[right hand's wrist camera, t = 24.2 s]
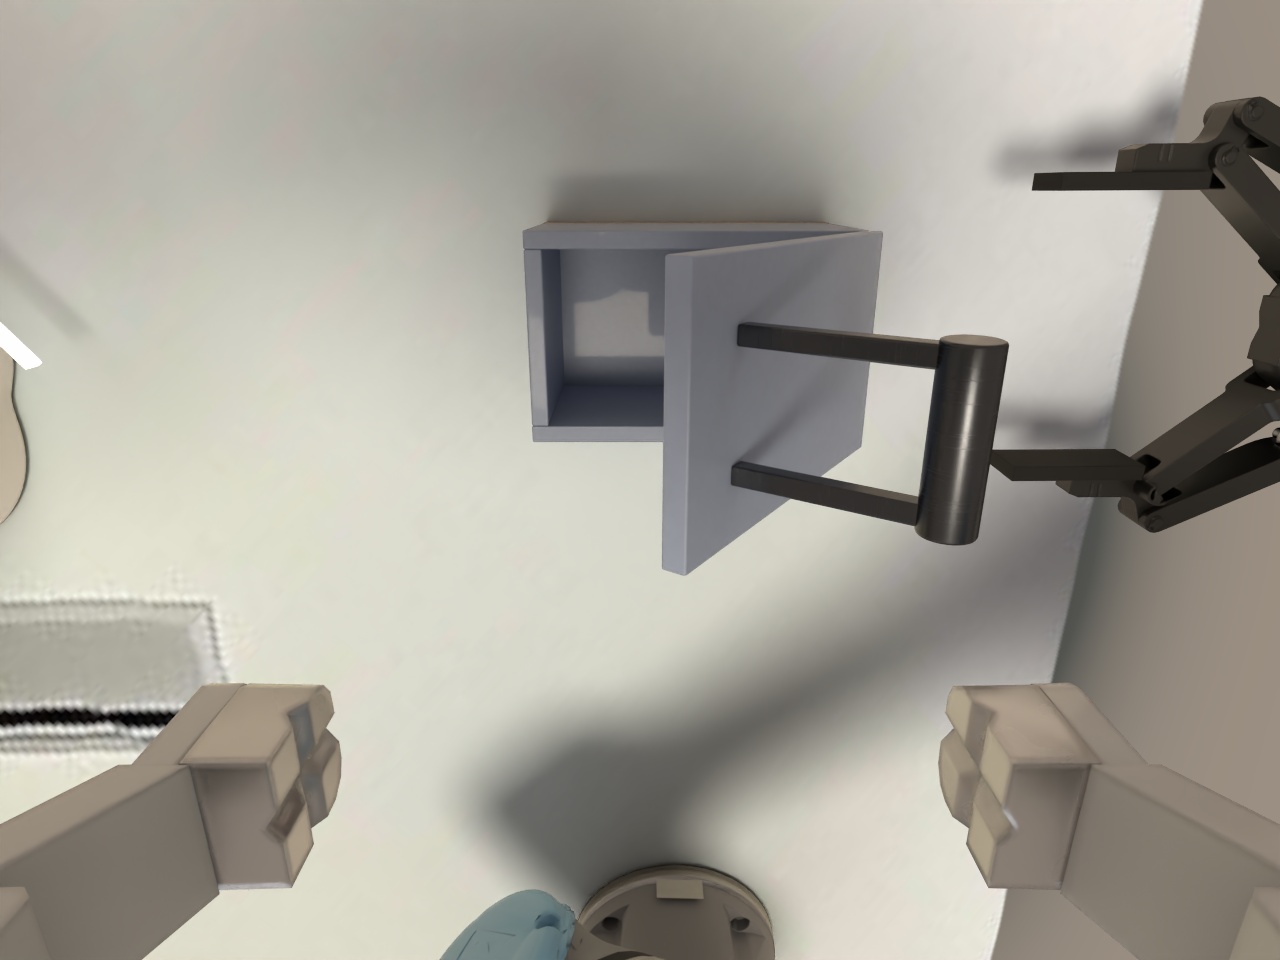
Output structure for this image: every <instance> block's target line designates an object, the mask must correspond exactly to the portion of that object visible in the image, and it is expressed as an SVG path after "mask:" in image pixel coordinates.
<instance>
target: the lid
mask: <svg viewBox="0 0 1280 960" xmlns="http://www.w3.org/2000/svg"><path fill="white" fill-rule="evenodd" d="M882 238H883V232H881V231H860V232H852V233H843V234H835V235H826V236H818V237H810V238H801V239H793V240H784V241H776V242H767V243H759V244H751V245H742V246H734V247H725V248H717V249H708V250H700V251H692V252H683V253H675V254H668V255H666V257H665V335H664V427H663V519H662V569H664V570H667V571H670V572H673V573H677V574H680V575H683V576H685V575H687V574H689V573H690V572H691V571H693V570H694V569H695V568H697V567H698V566H699V565H701V564H702V563H704V562H705V561H706V560H708V559H709V558H710V557H712V556H713V555H714V554H716V553H717V552H719V551H720V550H721V549H723V548H724V547H725V546H727V545H728V544H729V543H731V542H732V541H733V540H735V539H736V538H738V537H739V536H740V535H742V534H743V533H744V532H746V531H747V530H748V529H750V528H751V527H753V526H754V525H755V524H757V523H758V522H759V521H761V520H762V519H763V518H765V517H766V516H768V515H769V514H770V513H772V512H773V511H774V510H776V509H777V508H778V507H780V506H781V505H782V504H784V503H785V502H787V501H788V500H789V499H795V500H800V501H804V502H809V503H813V504H818V505H822V506H827V507H831V508H835V509H840V510H844V511H849V512H853V513H858V514H862V515H867V516H871V517H876V518H880V519H885V520H889V521H894V522H898V523H903V524H907V525H912V526H915V531H916V533H917V534H918V535H919V536H921V537H922V538H924V539H926V540H929V541H932V542H935V543H939V544H945V545H966V544H970V543H973V542H974V541H976V539H977V538H978V534H979V528H980V521H981V515H982V509H983V503H984V497H985V491H986V484H987V478H988V472H989V466H990V460H991V454H992V448H993V441H994V435H995V429H996V423H997V417H998V411H999V404H1000V398H1001V392H1002V386H1003V380H1004V374H1005V367H1006V361H1007V355H1008V349H1009V344H1008V342H1007V341H1005V340H1002V339H999V338H995V337H989V336H980V335H949V336H945V337H942V338H940V340H931V339H920V338H910V337H900V336H890V335H880V334H873V326H874V316H875V306H876V297H877V287H878V277H879V267H880V257H881V247H882ZM870 362H875V363H884V364H892V365H901V366H909V367H918V368H926V369H935V375H934V382H933V390H932V398H931V405H930V413H929V421H928V428H927V436H926V443H925V451H924V459H923V466H922V474H921V482H920V489H919V497H917V496H912V495H907V494H902V493H897V492H893V491H888V490H883V489H878V488H873V487H868V486H863V485H858V484H853V483H848V482H843V481H838V480H833V479H828V478H823V477H821V476H822V475H823V474H825V473H826V472H827V471H829V470H830V469H831V468H833V467H834V466H836V465H837V464H838V463H840V462H841V461H842V460H844V459H845V458H846V457H848V456H849V455H850V454H852V453H853V452H855V451H856V450H857V449H859V448H860V447H861V444H862V434H863V424H864V414H865V405H866V395H867V385H868V375H869V365H870Z"/></svg>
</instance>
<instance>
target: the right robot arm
mask: <svg viewBox="0 0 1280 960" xmlns="http://www.w3.org/2000/svg"><path fill="white" fill-rule="evenodd" d="M13 358H14V359H15V360H16V361H17V362H18V363H19V364H20V365H21V366H22V367H23V368H24V369H29V368H32V367H36V366H39V365H40V364H41V363H42V361H40V360H39V359H38V358H37V357H36V356H35V355H34V354H33V353H32V352H31V351H30V350H29V349H28V348H27V347H26V346H25V345H24V344H23V343H21V342H20V341H19V340H18V339H17V338H16V337H15V336H14V335H13V334H12V333H11V332H10V331H9V330H8V329H7V328H6V327H5V326H4V325H2V324H1V323H0V524H1V523H2V522H3V521H4V520H5V519H6V518H7V517H8V515H9V514H10V513H11V511H12V510H13V509H14V507H15V505H16V503H17V502H18V499H19V497H20V495H21V492H22V489H23V485H24V481H25V474H26V453H25V445H24V440H23V436H22V432H21V429H20V426H19V423H18V420H17V417H16V414H15V411H14V407H13V403H12V398H11V392H12V383H13V370H14V364H13ZM945 713H946V715H947V716H948V718H949V720H950V722H951V723H952V725H953V727H954V729H953V730H952V731H951V732H950V733H949V734H948V735H947V736H946V737H945V738H944V739H943V740H942V741H941V745H940V753H939V761H938V766H939V776H940V786H941V789H942V792H943V796H944V799H945V802H946V804H947V806H948V808H949V810H950V812H951V815H952V817H954V818H955V819H957V820H958V821H959V822H961V823H962V824H964V825H965V826H966V827H968V828H969V831H968V836H967V842H966V845H967V847H968V849H969V851H970V853H971V855H972V857H973V858H974V860H975V862H976V864H977V866H978V868H979V870H980V872H981V874H982V876H983V878H984V880H985V882H986V884H987V886H988V888H1007V889H1042V890H1061V892H1060V894H1062V895H1063V896H1064V897H1065V898H1066V899H1067V900H1069V901H1070V902H1071V903H1072V904H1073V905H1075V906H1076V907H1077V908H1078V909H1079V910H1080V911H1082V912H1083V913H1084V914H1085V915H1086V916H1088V917H1089V918H1090V919H1091V920H1092V921H1093V922H1095V923H1096V924H1097V925H1098V926H1099V927H1101V928H1102V929H1103V930H1104V931H1105V932H1107V933H1108V934H1109V935H1110V936H1111V937H1112V938H1114V939H1115V940H1116V941H1117V942H1118V943H1120V944H1121V945H1122V946H1123V947H1124V948H1125V949H1127V950H1128V951H1129V952H1130V953H1131V954H1133V955H1134V956H1135V957H1136V958H1137V959H1139V960H1280V824H1278V823H1276V822H1274V821H1272V820H1270V819H1268V818H1266V817H1264V816H1262V815H1260V814H1258V813H1256V812H1254V811H1252V810H1250V809H1248V808H1246V807H1244V806H1242V805H1240V804H1238V803H1236V802H1234V801H1232V800H1230V799H1228V798H1226V797H1224V796H1222V795H1220V794H1218V793H1216V792H1214V791H1212V790H1210V789H1208V788H1206V787H1204V786H1202V785H1200V784H1198V783H1196V782H1194V781H1192V780H1190V779H1188V778H1186V777H1184V776H1182V775H1180V774H1178V773H1176V772H1174V771H1172V770H1171V769H1169V768H1167V767H1165V766H1163V765H1148V764H1147V762H1146V761H1145V760H1144V759H1143V758H1142V757H1141V756H1140V755H1139V754H1138V752H1137V751H1136V750H1135V749H1134V748H1133V747H1132V746H1131V745H1130V743H1129V742H1128V741H1127V740H1126V739H1125V738H1124V737H1123V736H1122V735H1121V733H1120V732H1119V731H1118V730H1117V729H1116V728H1115V727H1114V726H1113V725H1112V723H1111V722H1110V721H1109V720H1108V719H1107V718H1106V717H1105V716H1104V714H1103V713H1102V712H1101V711H1100V710H1099V709H1098V708H1097V707H1096V705H1095V704H1094V703H1093V702H1092V701H1091V700H1090V699H1089V698H1088V697H1087V695H1086V694H1085V693H1084V692H1083V691H1082V690H1081V689H1080V688H1079V687H1077V686H1075V685H1073V684H1071V683H1049V684H1031V685H993V686H953V688H952V690H951V692H950V694H949V696H948V701H947V707H946V712H945ZM333 715H334V708H333V703H332V698H331V693H330V691H329V690H328V689H327V688H326V687H325V686H324V685H296V684H244V683H212V684H209V685H205V686H202V687H201V688H200V689H199V690H198V691H197V692H196V693H195V694H194V695H193V697H192V698H191V699H190V700H189V701H188V702H187V703H186V704H185V705H184V707H183V708H182V709H181V710H180V711H179V712H178V713H177V714H176V716H175V717H174V718H173V719H172V720H171V721H170V722H169V723H168V724H167V726H166V727H165V728H164V729H163V730H162V731H161V732H160V733H159V735H158V736H157V737H156V738H155V739H154V740H153V741H152V742H151V743H150V745H149V746H148V747H147V748H146V749H145V750H144V751H143V752H142V753H141V755H140V756H139V757H138V758H137V759H136V760H135V761H134V762H133V764H132V765H117V766H115V767H113V768H111V769H109V770H107V771H105V772H103V773H102V774H100V775H98V776H96V777H94V778H92V779H90V780H88V781H86V782H84V783H82V784H80V785H78V786H76V787H74V788H72V789H70V790H68V791H66V792H64V793H62V794H60V795H58V796H56V797H54V798H52V799H50V800H48V801H46V802H44V803H42V804H40V805H38V806H36V807H34V808H32V809H30V810H28V811H26V812H24V813H22V814H20V815H18V816H16V817H14V818H12V819H10V820H8V821H6V822H4V823H2V824H0V960H142V959H143V958H144V957H145V956H146V955H148V954H149V953H150V952H151V951H152V950H154V949H155V948H156V947H157V946H158V945H160V944H161V943H162V942H163V941H164V940H165V939H167V938H168V937H169V936H170V935H171V934H173V933H174V932H175V931H176V930H177V929H179V928H180V927H181V926H182V925H183V924H184V923H186V922H187V921H188V920H189V919H190V918H192V917H193V916H194V915H195V914H196V913H198V912H199V911H200V910H201V909H202V908H203V907H205V906H206V905H207V904H208V903H209V902H211V901H212V900H213V899H214V898H215V897H216V896H218V895H219V890H237V889H272V888H292V886H293V884H294V882H295V880H296V878H297V876H298V874H299V872H300V870H301V868H302V866H303V864H304V862H305V860H306V859H307V857H308V855H309V853H310V851H311V849H312V847H313V845H314V842H313V837H312V831H311V828H312V827H314V826H315V825H316V824H318V823H319V822H321V821H322V820H323V819H325V818H326V817H328V815H329V812H330V810H331V808H332V806H333V804H334V802H335V800H336V796H337V792H338V787H339V783H340V779H341V751H340V744H339V741H338V740H337V739H336V738H335V737H334V736H333V735H332V734H331V733H330V732H329V731H328V730H327V729H326V727H327V725H328V723H329V722H330V720H331V718H332V716H333Z"/></svg>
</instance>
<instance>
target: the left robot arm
mask: <svg viewBox="0 0 1280 960" xmlns="http://www.w3.org/2000/svg"><path fill="white" fill-rule="evenodd" d="M1203 122H1204V128H1203V130H1202V132H1201V133H1200V135H1199V136H1198V137H1197V138H1196V139H1195V140H1194V141H1192V142H1191V143H1172V144H1171V143H1167V144H1140V145H1130V146H1128V147H1125V148H1123V149H1120V150H1119V153H1118V158H1117V163H1116V168H1115V172H1057V173H1034V180H1033V186H1032V190H1038V191H1073V190H1201V192H1202V193H1203V194H1204V195H1205V196H1206V197H1207V198H1208V199H1209V201H1210V202H1211V203H1212V204H1213V205H1214V206H1215V207H1216V208H1217V210H1218V211H1219V212H1220V213H1221V214H1222V215H1223V216H1224V217H1225V219H1226V220H1227V221H1228V222H1229V223H1230V224H1231V225H1232V226H1233V228H1234V229H1235V230H1236V231H1237V232H1238V233H1239V234H1240V235H1241V236H1242V238H1243V239H1244V240H1245V241H1246V242H1247V243H1248V244H1249V245H1250V247H1251V248H1252V249H1253V250H1254V251H1255V252H1256V253H1257V254H1258V256H1259V257H1260V259H1259V260H1258V263H1259V264H1260V265H1261V266H1262V268H1263V269H1264V270H1265V271H1266V272H1267V273H1268V274H1269V275H1270V277H1271V278H1272V279H1273V280H1274V281H1275V282H1276V283H1277V285H1276V287H1275V288H1274V289H1273V290H1272V292H1271V293H1270V295H1264V296H1263V299H1262V303H1261V307H1260V311H1259V329H1258V331H1257V333H1256V334H1255V336H1254V338H1253V340H1252V342H1251V345H1250V349H1249V352H1248V356H1247V358H1249V359H1252V360H1253V366H1252V367H1251V368H1249V369H1248V370H1246V371H1245V372H1243V373H1242V374H1240V375H1239V376H1237V377H1236V378H1235V379H1233V380H1232V381H1230V382H1229V383H1228V384H1227V385H1226V391H1225V392H1224V393H1223V394H1221V395H1220V396H1219V397H1217V398H1216V399H1214V400H1213V401H1211V402H1210V403H1208V404H1207V405H1205V406H1204V407H1203V408H1201V409H1200V410H1198V411H1197V412H1195V413H1194V414H1192V415H1191V416H1189V417H1188V418H1186V419H1185V420H1184V421H1182V422H1181V423H1179V424H1178V425H1176V426H1175V427H1173V428H1172V429H1171V430H1169V431H1168V432H1166V433H1165V434H1163V435H1162V436H1160V437H1159V438H1157V439H1156V440H1154V441H1153V442H1152V443H1150V444H1149V445H1147V446H1146V447H1144V448H1143V449H1141V450H1140V451H1138V452H1137V453H1135V454H1134V455H1133V456H1131V457H1128V456H1126V455H1125V454H1123V453H1121V452H1119V451H1117V450H1115V449H1052V450H992V454H991V460H990V464H991V465H992V466H993V467H995V468H996V469H997V470H999V471H1000V472H1001V473H1002V474H1004V475H1005V476H1006V477H1007V478H1009V479H1010V480H1011V481H1056V485H1058V486H1059V487H1061V488H1062V489H1063V490H1065V491H1066V492H1068V493H1069V494H1072V495H1074V496H1077V497H1121V500H1120V501H1119V503H1118V510H1119V511H1120V512H1121V513H1122V514H1124V515H1125V516H1126V517H1128V518H1129V519H1131V520H1132V521H1134V522H1135V523H1137V524H1138V525H1140V526H1141V527H1143V528H1144V529H1146V530H1148V531H1149V532H1153V533H1155V532H1159V531H1162V530H1164V529H1167V528H1169V527H1171V526H1174V525H1176V524H1179V523H1181V522H1183V521H1186V520H1188V519H1191V518H1193V517H1196V516H1198V515H1200V514H1203V513H1205V512H1207V511H1210V510H1212V509H1215V508H1217V507H1220V506H1222V505H1224V504H1227V503H1229V502H1231V501H1234V500H1236V499H1239V498H1241V497H1244V496H1246V495H1248V494H1251V493H1253V492H1256V491H1258V490H1260V489H1263V488H1265V487H1268V486H1270V485H1272V484H1275V483H1277V482H1280V428H1276V429H1275V430H1274V431H1273V433H1272V435H1273V437H1269V438H1263V439H1260V440H1256V441H1253V442H1250V443H1248V444H1245V445H1243V446H1240V447H1238V448H1236V449H1233V450H1231V451H1229V452H1227V451H1228V450H1229V449H1231V448H1232V447H1234V446H1236V445H1237V444H1239V443H1240V442H1241V441H1243V440H1245V439H1246V438H1248V437H1249V436H1251V435H1252V434H1253V433H1255V432H1257V431H1258V430H1260V429H1261V428H1262V427H1264V426H1265V425H1267V424H1269V423H1270V422H1273V421H1280V191H1279V190H1278V189H1277V187H1276V186H1275V185H1274V184H1273V183H1272V182H1271V180H1270V179H1269V178H1268V177H1267V176H1266V175H1265V174H1264V172H1263V171H1262V170H1261V169H1260V168H1259V167H1258V165H1257V164H1256V163H1255V162H1254V161H1253V160H1252V158H1251V157H1250V156H1252V157H1253V158H1255V159H1257V160H1258V161H1260V162H1262V163H1263V164H1265V165H1266V166H1268V167H1270V168H1271V169H1273V170H1275V171H1276V172H1278V173H1280V107H1278V106H1277V105H1275V104H1274V103H1272V102H1270V101H1269V100H1267V99H1266V98H1263V97H1254V98H1245V99H1239V100H1232V101H1226V102H1220V103H1215V104H1213V105H1211V106H1210V107H1209V108H1208V109H1207V110H1206V113H1205V115H1204V119H1203ZM1249 155H1250V156H1249ZM1269 386H1271V387H1272V388H1274V389H1275V390H1276V391H1272V390H1269V389H1266V388H1268V387H1269ZM1225 452H1226V453H1225ZM440 960H775V948H774V941H773V935H772V930H771V925H770V921H769V918H768V915H767V913H766V911H765V909H764V908H763V906H762V904H761V903H760V902H759V900H758V899H757V898H756V897H755V896H754V895H753V894H752V893H751V892H750V891H749V890H748V889H747V888H746V887H744V886H743V885H741V884H740V883H739V882H737V881H735V880H733V879H732V878H730V877H727V876H725V875H723V874H721V873H718V872H715V871H712V870H708V869H705V868H700V867H694V866H685V865H665V866H656V867H650V868H645V869H642V870H638V871H635V872H632V873H629V874H626V875H624V876H622V877H620V878H618V879H616V880H614V881H613V882H611V883H609V884H608V885H606V886H605V887H604V888H602V889H601V890H600V891H599V892H598V893H596V894H595V895H594V896H593V898H592V899H591V900H590V901H589V902H588V904H587V905H586V906H585V908H584V910H583V911H582V913H581V915H580V917H579V920H578V921H577V920H576V919H575V915H574V911H571V909H570V906H567V905H566V904H560V903H559V902H558V901H557V900H556V899H555V898H554V897H552V896H551V895H550V894H548V893H546V892H544V891H540V890H525V891H520V892H517V893H514V894H512V895H509V896H507V897H505V898H503V899H502V900H500V901H498V902H497V903H495V904H494V905H492V906H491V907H489V908H488V909H487V910H485V911H484V912H483V913H482V914H481V915H480V916H479V917H478V918H477V919H476V920H475V921H473V922H472V923H471V924H470V925H469V926H468V927H467V928H466V929H465V930H464V931H463V932H462V933H461V934H460V935H459V936H458V937H457V938H456V940H455V941H454V942H453V943H452V944H451V945H450V947H449V948H448V949H447V950H446V952H445V953H444V954H443V956H442V957H441V958H440Z"/></svg>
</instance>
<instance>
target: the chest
mask: <svg viewBox="0 0 1280 960" xmlns="http://www.w3.org/2000/svg"><path fill="white" fill-rule="evenodd" d="M860 231H868V230H862V229H857V228H851V227H845V226H840V225H834V224H829V223H825V222H545V223H544V224H541V225H538V226H536V227H533V228H530V229H527V230H524V231H523V247H524V249H525V250H524V266H525V286H526V307H527V327H528V348H529V368H530V389H531V409H532V425H533V427H532V432H533V442H663V427H664V335H665V257H666V255H668V254H675V253H683V252H692V251H700V250H708V249H717V248H725V247H734V246H742V245H751V244H759V243H767V242H776V241H784V240H793V239H801V238H810V237H818V236H826V235H835V234H843V233H852V232H860Z"/></svg>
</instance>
